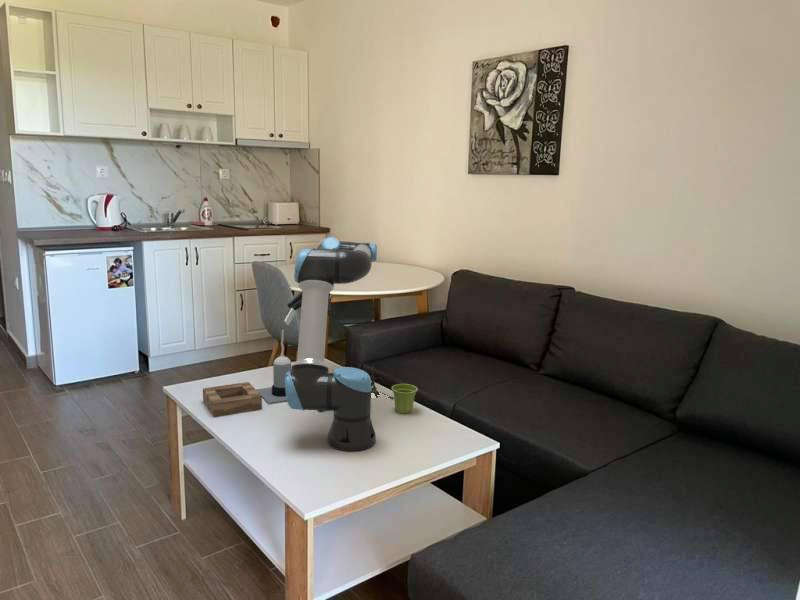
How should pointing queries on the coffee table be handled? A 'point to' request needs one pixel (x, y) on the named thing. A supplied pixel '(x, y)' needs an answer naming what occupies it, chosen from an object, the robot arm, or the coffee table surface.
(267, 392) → the mat
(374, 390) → the eiffel tower figurine
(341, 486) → the coffee table surface
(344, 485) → the coffee table surface
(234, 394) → the dock
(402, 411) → the plant pot
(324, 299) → the robot arm
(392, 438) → the coffee table surface
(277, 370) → the humidifier
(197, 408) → the coffee table surface
